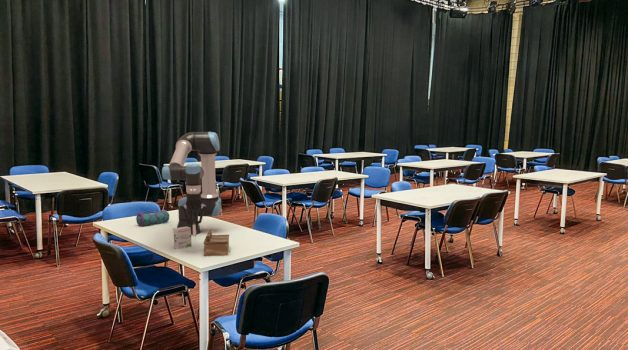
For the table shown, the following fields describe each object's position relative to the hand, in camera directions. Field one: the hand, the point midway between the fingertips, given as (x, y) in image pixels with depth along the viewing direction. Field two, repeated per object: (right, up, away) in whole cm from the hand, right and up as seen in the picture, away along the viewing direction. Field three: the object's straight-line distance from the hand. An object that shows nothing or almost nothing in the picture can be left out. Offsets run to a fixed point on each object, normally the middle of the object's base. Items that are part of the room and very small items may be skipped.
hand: (194, 236), depth 258 cm
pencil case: (-47, -2, +73) cm, 87 cm away
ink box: (-10, -9, +12) cm, 18 cm away
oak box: (+12, -10, +3) cm, 15 cm away
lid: (+12, -2, +2) cm, 12 cm away
